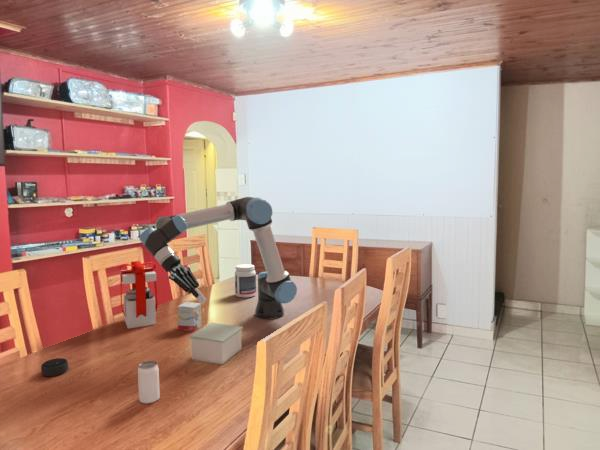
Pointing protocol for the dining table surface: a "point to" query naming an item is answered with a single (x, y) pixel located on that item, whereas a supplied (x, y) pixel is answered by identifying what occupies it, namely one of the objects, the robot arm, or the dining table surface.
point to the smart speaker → (54, 367)
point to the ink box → (189, 316)
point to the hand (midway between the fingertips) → (204, 301)
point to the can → (148, 382)
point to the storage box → (215, 349)
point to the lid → (216, 332)
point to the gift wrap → (139, 295)
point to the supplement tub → (245, 281)
